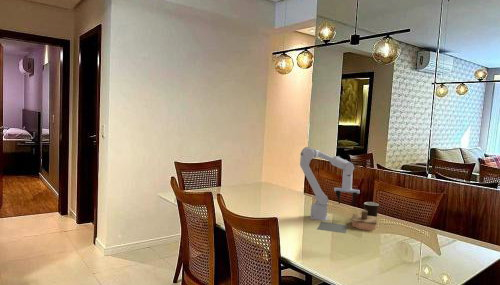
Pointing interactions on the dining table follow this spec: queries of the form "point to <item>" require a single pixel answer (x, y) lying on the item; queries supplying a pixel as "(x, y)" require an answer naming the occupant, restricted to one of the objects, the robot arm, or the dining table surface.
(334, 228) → the mat
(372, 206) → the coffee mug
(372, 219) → the lid
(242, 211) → the dining table surface
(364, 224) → the bowl
